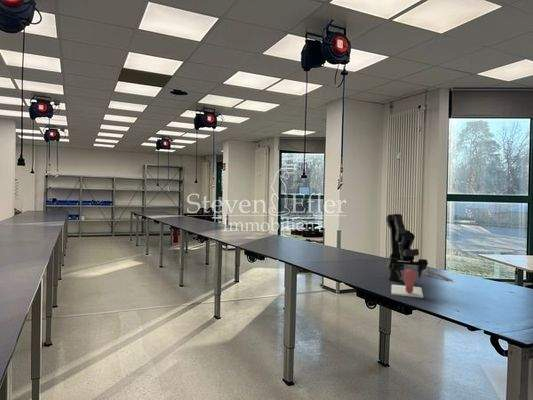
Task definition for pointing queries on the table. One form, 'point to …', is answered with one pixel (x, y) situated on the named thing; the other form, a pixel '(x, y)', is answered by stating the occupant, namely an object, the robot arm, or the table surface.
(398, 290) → the mat
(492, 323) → the table surface
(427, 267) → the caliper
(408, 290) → the light bulb
